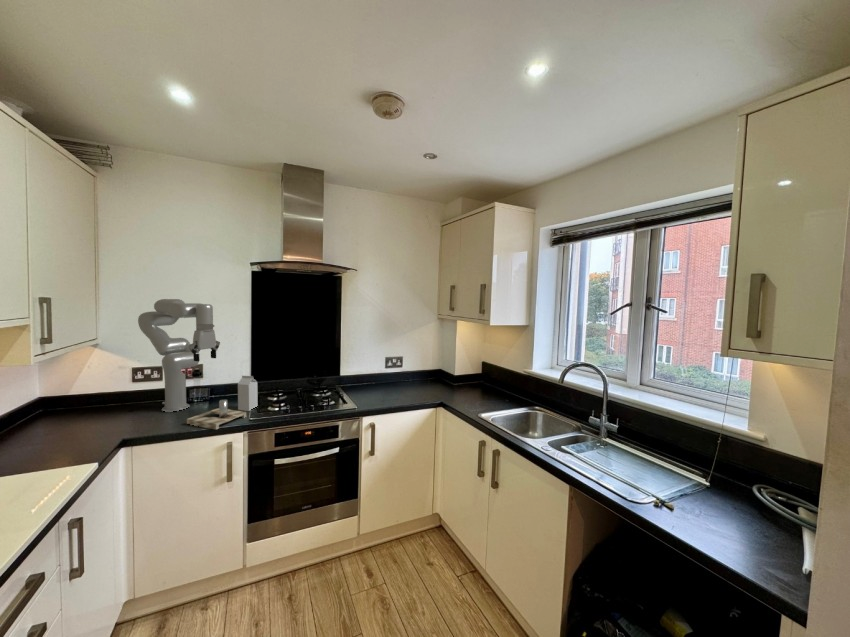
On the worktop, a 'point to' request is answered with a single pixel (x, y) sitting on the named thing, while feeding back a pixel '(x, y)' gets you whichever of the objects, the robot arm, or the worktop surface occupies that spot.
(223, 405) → the peg
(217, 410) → the keyhole plate
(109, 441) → the worktop surface
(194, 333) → the robot arm
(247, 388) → the milk carton
